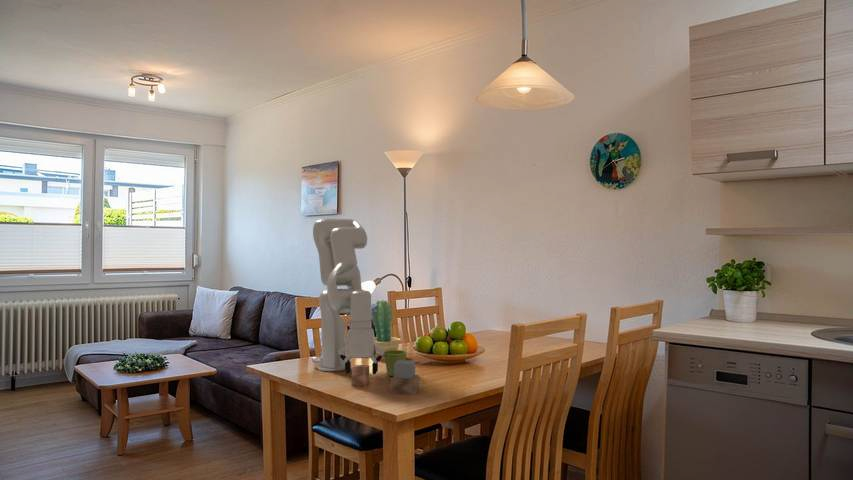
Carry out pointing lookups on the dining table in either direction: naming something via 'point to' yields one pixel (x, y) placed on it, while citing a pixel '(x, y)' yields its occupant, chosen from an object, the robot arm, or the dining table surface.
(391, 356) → the plant pot
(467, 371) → the dining table surface
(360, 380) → the brownish pink block
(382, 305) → the potted cactus
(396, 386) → the walnut base block
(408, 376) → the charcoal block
